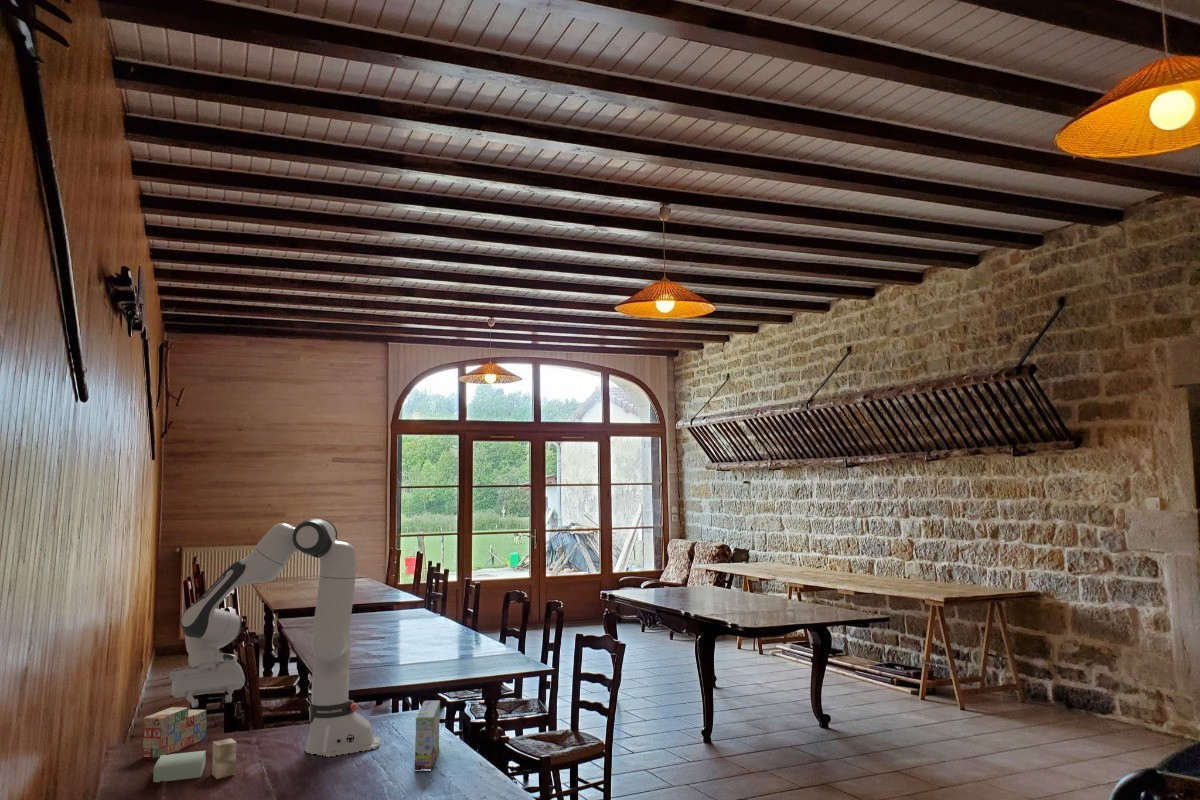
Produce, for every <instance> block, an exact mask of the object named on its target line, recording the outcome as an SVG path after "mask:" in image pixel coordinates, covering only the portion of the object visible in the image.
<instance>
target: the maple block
mask: <svg viewBox="0 0 1200 800" xmlns="http://www.w3.org/2000/svg"><path fill="white" fill-rule="evenodd" d="M211 761H212V767H211V775H212V776H213V777H214V778H215V779H216V780H218V779H223V778H227V776H228V777H231V775H233V776H235V775H236V774H237V773H236V772H237V771H236V770H237V767H236V766H237V741H236V740H235V739H233V738H225V739H222V740H221V739H220V740H216V741H213V742H212V760H211Z"/></svg>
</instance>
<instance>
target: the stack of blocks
mask: <svg viewBox="0 0 1200 800" xmlns="http://www.w3.org/2000/svg"><path fill="white" fill-rule="evenodd" d="M207 722H208V721H207V709H189V707H182V706H181V707H180V706H178V707H177V706H175V707H174V706H171V707H169V708H166V709H163V710H160V711H158V712H156V713H153V714H150V715H147V716H144V719H143V731H142V732H143V734H142V736H143V737H142V738H143V740H142V741H143V742H142V743H143V744H142V758H143V757H160V756H161V755H166V754H169V753H172V752H175V751H177V752H179V751H181V750H183V749H185V748H184V747H186V748H188V747H190V746H192V745H195V744H197V743H199V742H201V741H204V740H206V739H207ZM205 735H206V736H205ZM189 745H190V746H189ZM187 746H188V747H187ZM182 748H183V749H182ZM180 749H181V750H180ZM178 750H179V751H178ZM175 753H176V752H175ZM172 754H173V753H172Z"/></svg>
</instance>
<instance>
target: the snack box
mask: <svg viewBox="0 0 1200 800" xmlns="http://www.w3.org/2000/svg"><path fill="white" fill-rule="evenodd" d="M440 709H441V700H439V699H438V700H423V702H422V705H421V706H420V709H419V711H418V713H417V715H416V717H415V743H414V747H415V748H414V749H415V750H414V770H421V769H432V767H433V768H434V766H433V765H435V763H434V762H436V760H435V759H437V757H436V756H438V754H437V753H439V751H440V718H441V717H440V715H441V714H440V713H441V712H440V711H441V710H440ZM438 750H439V751H438ZM432 770H433V769H432Z"/></svg>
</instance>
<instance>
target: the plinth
mask: <svg viewBox="0 0 1200 800" xmlns="http://www.w3.org/2000/svg"><path fill="white" fill-rule="evenodd" d="M206 753H207V750H199V751H197V750H196V751H189V752H180V753H172V754H169V755H161V756H160V758H159V759H157V761H156V763H155V764H154V767H153V773H152V776H153V777H152V780H153V781H152V782H156V783H163V782H162V781H164V782H171V781H179V780H180V781H181V780H188V779H197V778H201V777H202V774H203V771H204V769H205V767H206V761H207V759H206V758H207V757H206ZM160 781H161V782H160Z"/></svg>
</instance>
